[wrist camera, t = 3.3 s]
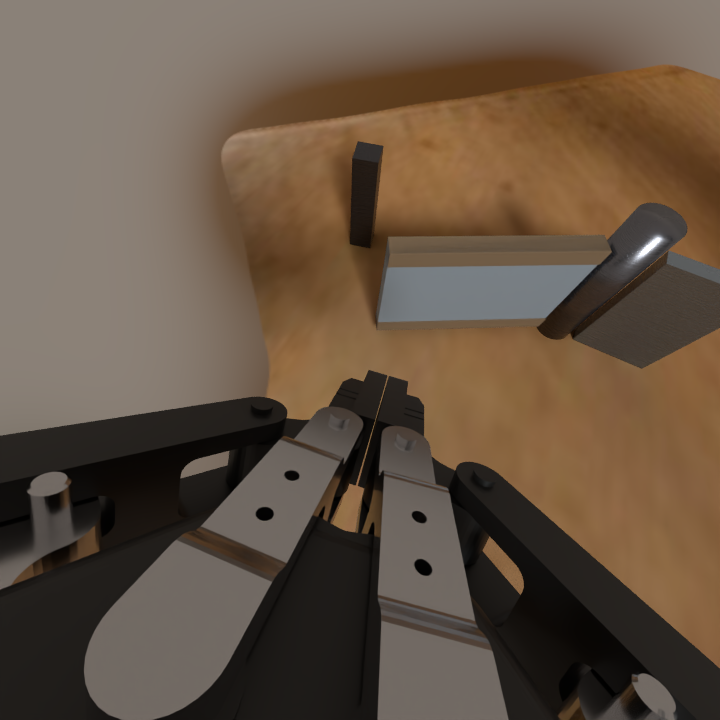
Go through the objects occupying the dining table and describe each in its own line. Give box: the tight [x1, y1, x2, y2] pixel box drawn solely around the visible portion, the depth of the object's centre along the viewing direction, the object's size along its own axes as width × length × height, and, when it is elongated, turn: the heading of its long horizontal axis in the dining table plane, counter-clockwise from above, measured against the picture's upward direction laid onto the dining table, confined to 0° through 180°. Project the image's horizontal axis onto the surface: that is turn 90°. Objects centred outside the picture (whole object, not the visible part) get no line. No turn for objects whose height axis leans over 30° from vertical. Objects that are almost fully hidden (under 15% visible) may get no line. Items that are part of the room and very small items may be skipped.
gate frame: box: [350, 142, 720, 368], centre depth 27 cm, size 29×3×12 cm, turn 62°
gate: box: [375, 235, 612, 330], centre depth 26 cm, size 14×1×9 cm, turn 93°
